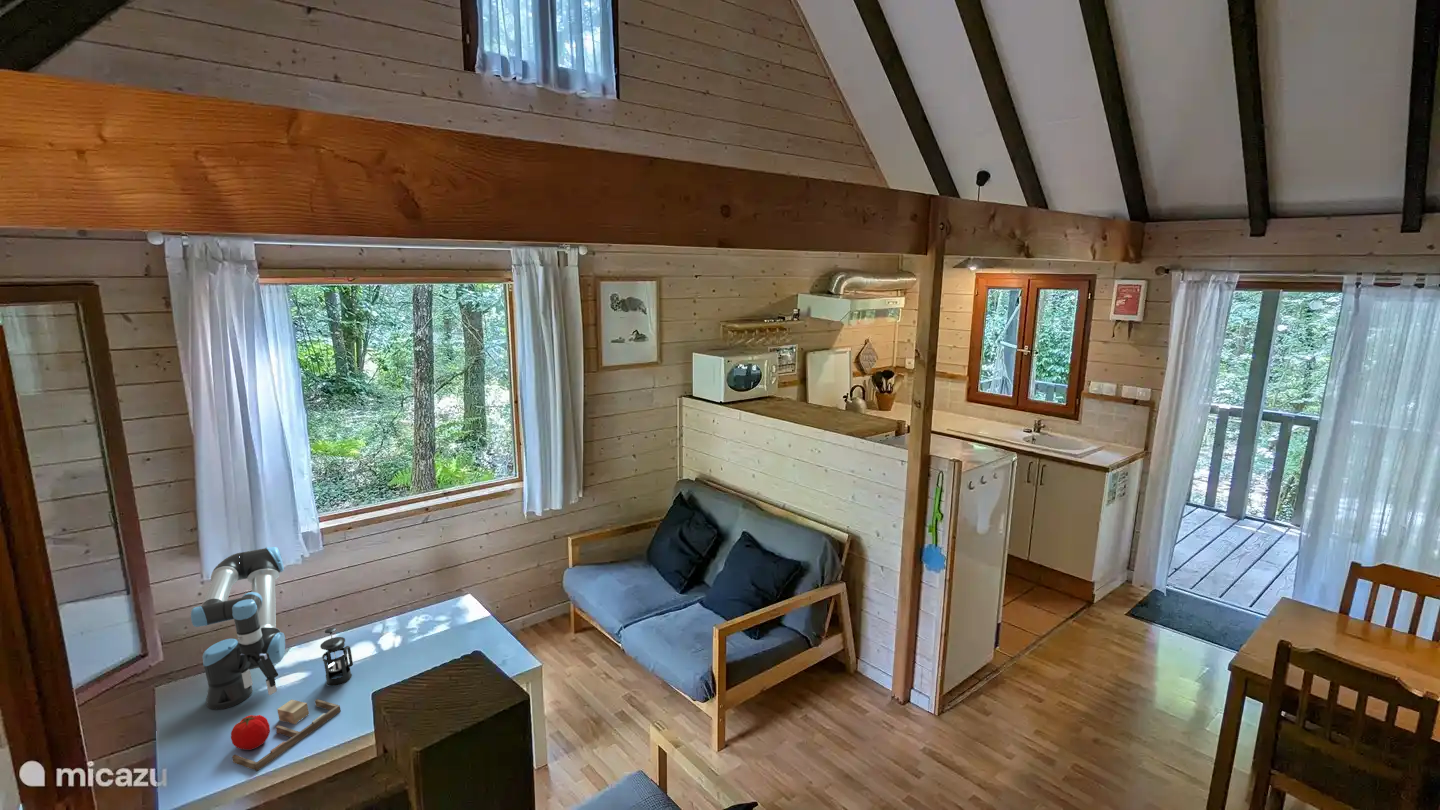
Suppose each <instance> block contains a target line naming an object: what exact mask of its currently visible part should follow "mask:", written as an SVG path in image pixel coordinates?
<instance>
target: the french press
mask: <svg viewBox="0 0 1440 810" xmlns="http://www.w3.org/2000/svg"><path fill="white" fill-rule="evenodd" d="M336 630H337V627H335V626H334V627H329V628H327V629H325V631H324V633H325V634H329V635H330V637H331V638H329V639H326V640H324V641H323V642H321V644H320V646H319V647H320V649H322V650H325V652H324V653H323V654H322V657H321V658H322V661H323V664H324V665H323V666H324V669H325V670H324V671H325V680H326V681H325V684H326V685H327V686H328V687H337V686H341V685H344V684H345V683H348V682H349V681H350V680H351V679H352V676H353V674H352V673H351V667H353V665H354V662H353V661H354V660H353V656H352V650H351V646H348V645H346V643H345V642H346V639H345V637H343V636H335V637H333V633H334V632H336ZM345 645H346V646H345ZM339 651H340V652H342V651H343V654H342V655H341V656H339V657H336V653H337V652H339ZM331 653H333V655H334V658H332V654H331ZM325 657H326V659H325ZM339 675H341V676H339ZM336 676H339V677H336ZM334 677H335V678H334Z"/></svg>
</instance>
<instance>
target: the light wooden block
mask: <svg viewBox="0 0 1440 810" xmlns="http://www.w3.org/2000/svg"><path fill="white" fill-rule="evenodd" d="M276 710H277V716H278V719H279V721H281V722H283V723H288V722H289V723H288V724H292V725H297V724H298V723H299V722H300V721H299V720H301V719H302V718H303V719H305V718H306V717H307V716H309V715H310V711H309V706H308V702H304V701H300V700H295V699H290V700H289V701H287V702H286V703H284V704H283V705H281V706H280V707H279V708H276ZM308 714H309V715H308ZM306 715H307V716H306ZM305 716H306V717H305ZM304 717H305V718H304ZM303 719H302V720H303ZM302 720H301V721H302ZM298 721H299V722H298ZM297 722H298V723H297Z"/></svg>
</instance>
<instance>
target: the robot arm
mask: <svg viewBox="0 0 1440 810" xmlns="http://www.w3.org/2000/svg"><path fill="white" fill-rule="evenodd" d="M281 555H282V554H281V552H280V549H279V548H278V546H270V547H267V546H266V547H264V548H260V549H253V550H249V551H243V552H237V553H234V554H231V555H230V556H228V557H226V558H225V559H223V560H221V561H220V562H219V563H218V564H217V565H216V566H215V567H214V569H213V570H212V572H211V575H210V581H211V582H210V585H209V587H208V589H207V593H206V595H205V598H204V600H203V602H202V605H198V606H196V607H193V608H192V609H191V611H190V621H191V624H192V626H193V627H195V628H198V627H207V626H208V625H213V624H219V623H222V622H223V623H224V622H227V621H233V623H234V627H235V631H236V636H237V638H226V639H222V640H220V641H218V642H216V643H214V644H212V645H210V646H209V647H208V648H207V649H205V650H204V652H203V654H202V665H203V667H204V672H205V676H206V680H207V681H206V682H207V685H208V688H207V693H206V698H205V703H206V707H207V708H208V709H209V710H213V711H214V710H215V711H218V710H224V709H228V708H231V707H234V706H237V705H238V704H241V703H243V702H244V701H245V700H247V699H249V697H251V696H252V694H253V692H254V691H253V678H252V674H251V670H255V669H259V670H260V671H261V672H262V673H263V675H264V676H265V678H266V679H265V682H266V683H265V684H266V687H267V689H266V690H267V693H268V696H272V695H273V694H274V693H276V692H277V686H276V685H277V684H276V679H275V678H277V677H278V676H279V673H278V671H277V669H276V667H275V666H274V664H279V663H280V662H281V661H282V660H283V658H284V656H285V653H286V651H285V650H286V637H285V633H284V632H281V630H280V629H279V628H277V627H276V626H277V622H276V621H277V619H276V618H277V617H276V616H277V611H276V610H277V609H276V608H277V607H276V604H277V603H276V601H277V600H276V598H277V597H276V595H277V594H276V580H278V578H280V573H282V572H284V569H285V566H284V562H283V558H282V556H281ZM239 556H240V558H239ZM239 562H240V564H239ZM241 580H247V581H248V582H249V583H250V584H251V592H250V591H249V592H247V593H245V594H244V595H242V596H241V597H237V598H233V599H229V596H230V594H231V591H232V588H233V585H235V583H237V581H241Z"/></svg>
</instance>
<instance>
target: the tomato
mask: <svg viewBox="0 0 1440 810" xmlns="http://www.w3.org/2000/svg"><path fill="white" fill-rule="evenodd" d="M270 732H271V729H270V724H269V721H268V719H267V718H266V717H265V716H264V715H261V714H257V715H253V714H250V715H248V716H245V717H244V718H242V719H241V720H240V721H239V722H237V723H236V724H235V725H233V728H232V730H231V733H230V739H231V742H232V745H233V746H235V747H236V748H237V749H240V750H245V751H247V750H249V751H251V750H253V749H256V748H258V747H260V746H261V745H263V744H264V743H265V742H266V741H267V740H268V738H269V735H270Z"/></svg>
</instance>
